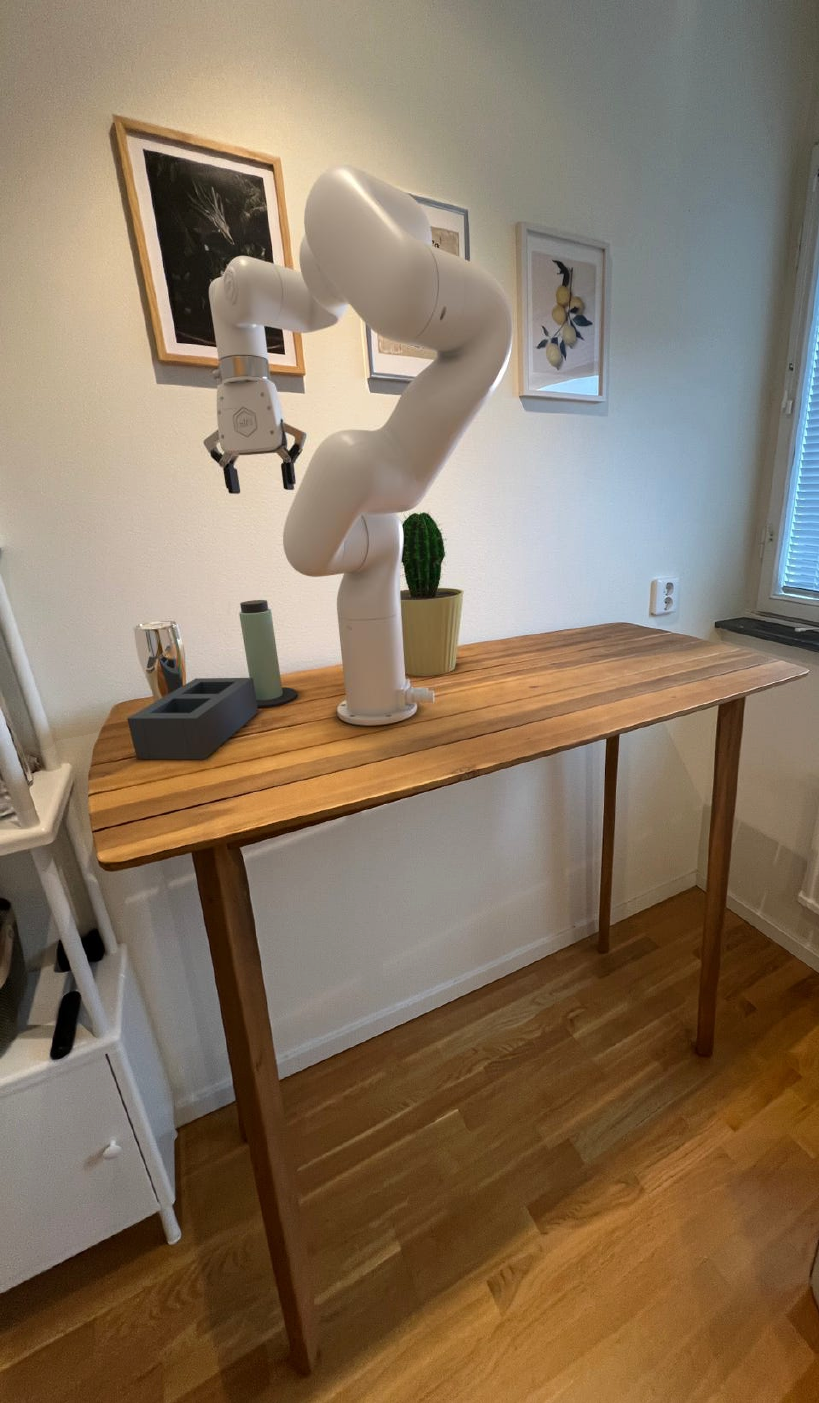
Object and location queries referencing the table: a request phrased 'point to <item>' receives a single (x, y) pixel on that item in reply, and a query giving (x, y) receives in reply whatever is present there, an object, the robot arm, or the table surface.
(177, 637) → the chrome tumbler
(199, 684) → the holder
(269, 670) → the bottle
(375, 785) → the table surface
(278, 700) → the coaster
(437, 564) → the potted cactus
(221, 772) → the table surface
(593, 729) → the table surface
